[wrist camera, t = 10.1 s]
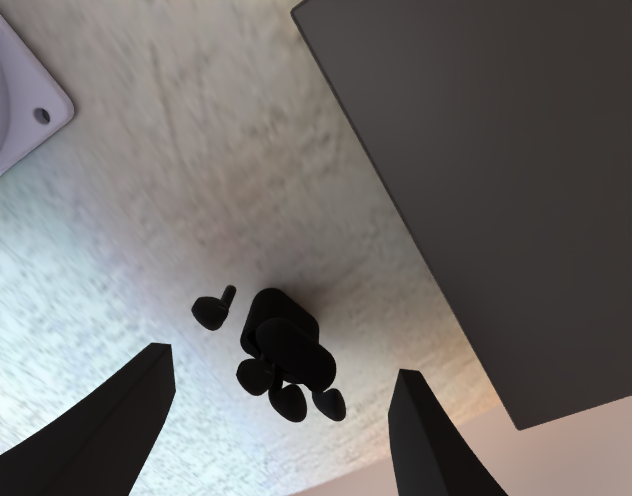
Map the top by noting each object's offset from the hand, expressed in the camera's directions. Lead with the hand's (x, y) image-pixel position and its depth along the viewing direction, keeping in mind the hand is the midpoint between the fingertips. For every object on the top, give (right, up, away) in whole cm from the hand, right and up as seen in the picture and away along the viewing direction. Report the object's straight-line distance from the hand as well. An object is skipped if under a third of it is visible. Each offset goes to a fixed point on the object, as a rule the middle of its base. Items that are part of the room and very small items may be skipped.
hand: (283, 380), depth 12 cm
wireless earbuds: (0, +2, +4) cm, 4 cm away
